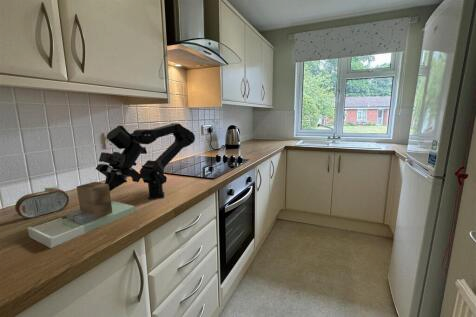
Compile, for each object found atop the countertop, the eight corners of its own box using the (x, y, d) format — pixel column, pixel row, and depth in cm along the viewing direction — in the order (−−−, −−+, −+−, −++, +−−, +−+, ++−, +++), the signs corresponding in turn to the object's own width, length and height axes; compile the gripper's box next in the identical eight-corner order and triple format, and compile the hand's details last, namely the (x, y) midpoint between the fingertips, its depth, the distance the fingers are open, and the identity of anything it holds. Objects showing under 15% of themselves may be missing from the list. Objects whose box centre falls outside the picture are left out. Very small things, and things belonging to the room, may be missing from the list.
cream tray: (62, 224, 77) (60, 216, 76) (84, 233, 70) (83, 224, 70) (29, 236, 69) (27, 227, 69) (50, 248, 63) (48, 237, 62)
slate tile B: (80, 214, 79) (79, 209, 79) (87, 217, 77) (86, 211, 77) (67, 219, 76) (66, 213, 76) (73, 222, 74) (72, 216, 74)
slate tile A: (88, 217, 77) (87, 211, 77) (95, 219, 75) (94, 214, 75) (74, 222, 74) (73, 216, 73) (81, 225, 72) (80, 218, 71)
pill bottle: (47, 206, 93) (43, 186, 92) (61, 203, 96) (58, 183, 95) (47, 210, 90) (43, 189, 88) (62, 207, 93) (59, 186, 91)
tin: (68, 206, 93) (65, 186, 91) (71, 208, 91) (67, 187, 89) (17, 220, 82) (12, 197, 80) (19, 222, 80) (14, 198, 78)
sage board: (115, 206, 92) (114, 201, 91) (135, 211, 86) (134, 206, 86) (63, 225, 76) (62, 219, 76) (83, 233, 71) (82, 227, 70)
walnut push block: (98, 208, 84) (94, 181, 82) (112, 212, 80) (108, 184, 79) (81, 215, 79) (76, 186, 77) (94, 219, 75) (90, 189, 73)
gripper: (97, 142, 88) (69, 178, 80) (129, 144, 78) (101, 184, 71) (119, 159, 96) (95, 193, 88) (151, 163, 87) (127, 201, 79)
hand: (103, 193), depth 81 cm, fingers closed
